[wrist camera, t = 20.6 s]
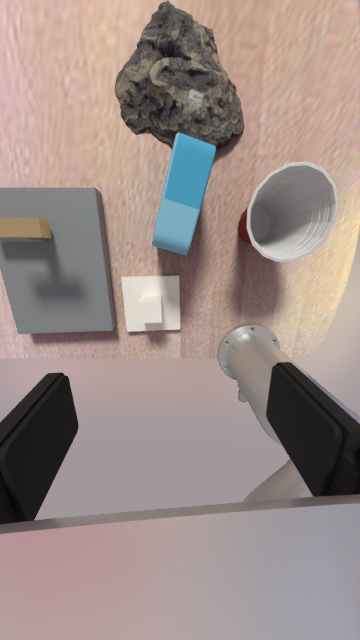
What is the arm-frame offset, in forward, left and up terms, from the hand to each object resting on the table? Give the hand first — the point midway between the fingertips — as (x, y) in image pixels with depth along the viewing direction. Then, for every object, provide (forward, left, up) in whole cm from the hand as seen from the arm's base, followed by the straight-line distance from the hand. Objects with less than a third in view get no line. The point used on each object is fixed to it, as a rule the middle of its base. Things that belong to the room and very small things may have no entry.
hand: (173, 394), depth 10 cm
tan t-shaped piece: (+9, +20, -27) cm, 35 cm away
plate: (+4, +18, -30) cm, 35 cm away
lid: (-3, +3, -31) cm, 31 cm away
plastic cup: (+10, -15, -31) cm, 35 cm away
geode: (+28, -4, -31) cm, 42 cm away
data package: (+12, -2, -31) cm, 33 cm away
